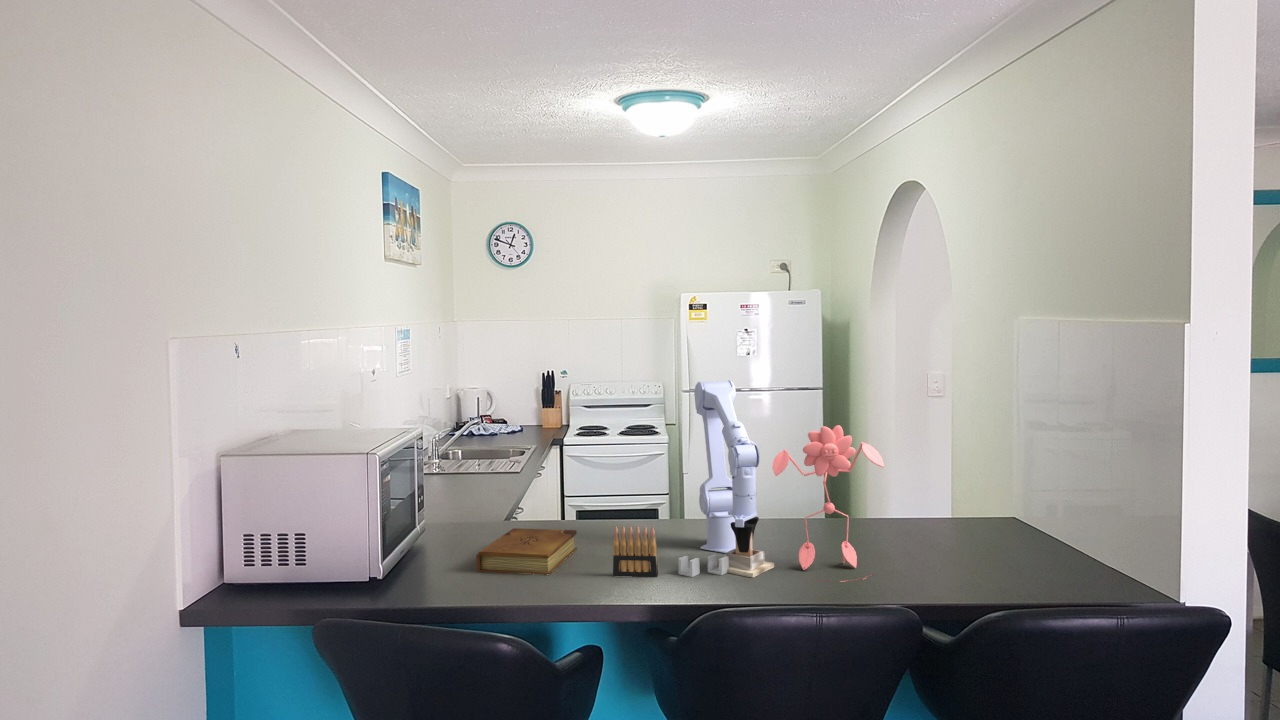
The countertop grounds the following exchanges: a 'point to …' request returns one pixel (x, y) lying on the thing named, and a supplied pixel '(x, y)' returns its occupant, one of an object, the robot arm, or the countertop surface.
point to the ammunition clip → (635, 554)
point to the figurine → (831, 458)
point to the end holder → (748, 564)
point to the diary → (527, 551)
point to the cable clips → (694, 569)
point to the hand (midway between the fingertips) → (745, 549)
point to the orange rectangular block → (750, 552)
